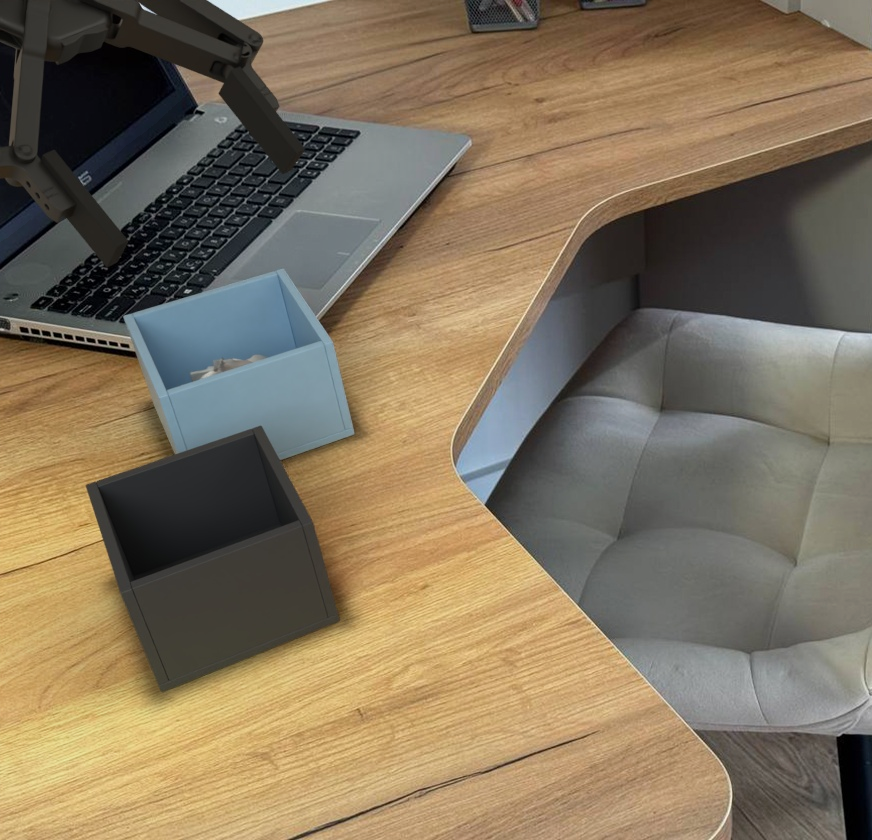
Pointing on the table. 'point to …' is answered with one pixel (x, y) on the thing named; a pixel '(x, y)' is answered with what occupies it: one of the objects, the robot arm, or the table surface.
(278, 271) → the paper bin
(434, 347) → the table surface
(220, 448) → the waste bin
